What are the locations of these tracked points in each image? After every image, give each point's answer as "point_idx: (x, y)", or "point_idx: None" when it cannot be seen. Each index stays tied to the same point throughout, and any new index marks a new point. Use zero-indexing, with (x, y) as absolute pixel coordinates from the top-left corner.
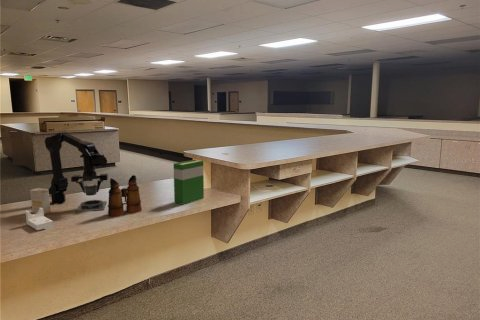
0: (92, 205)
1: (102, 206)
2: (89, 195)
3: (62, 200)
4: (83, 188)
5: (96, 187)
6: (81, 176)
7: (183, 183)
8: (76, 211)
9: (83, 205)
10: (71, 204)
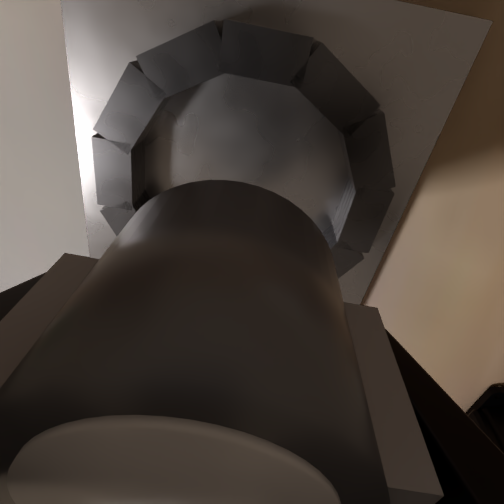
0: (231, 27)
1: (96, 69)
2: (263, 188)
3: (497, 421)
4: (432, 428)
5: None
6: None
7: None
8: (480, 21)
9: (375, 100)
10: (431, 344)
